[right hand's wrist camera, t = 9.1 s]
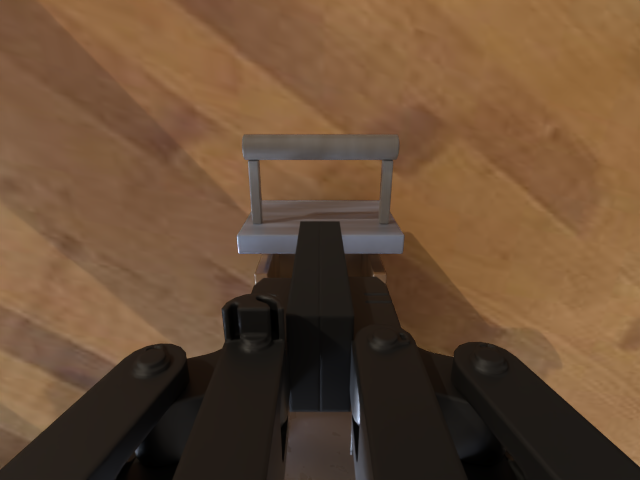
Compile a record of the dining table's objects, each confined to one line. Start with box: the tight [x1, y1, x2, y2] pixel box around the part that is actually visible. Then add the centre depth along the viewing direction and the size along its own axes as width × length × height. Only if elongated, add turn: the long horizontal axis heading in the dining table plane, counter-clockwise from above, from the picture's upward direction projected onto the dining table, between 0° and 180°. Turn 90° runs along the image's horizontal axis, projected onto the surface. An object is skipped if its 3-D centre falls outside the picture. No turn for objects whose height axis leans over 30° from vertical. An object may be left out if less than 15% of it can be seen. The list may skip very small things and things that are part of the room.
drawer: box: [237, 134, 404, 284], centre depth 27 cm, size 21×10×8 cm, turn 0°
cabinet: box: [284, 408, 356, 480], centre depth 31 cm, size 17×11×10 cm, turn 0°
